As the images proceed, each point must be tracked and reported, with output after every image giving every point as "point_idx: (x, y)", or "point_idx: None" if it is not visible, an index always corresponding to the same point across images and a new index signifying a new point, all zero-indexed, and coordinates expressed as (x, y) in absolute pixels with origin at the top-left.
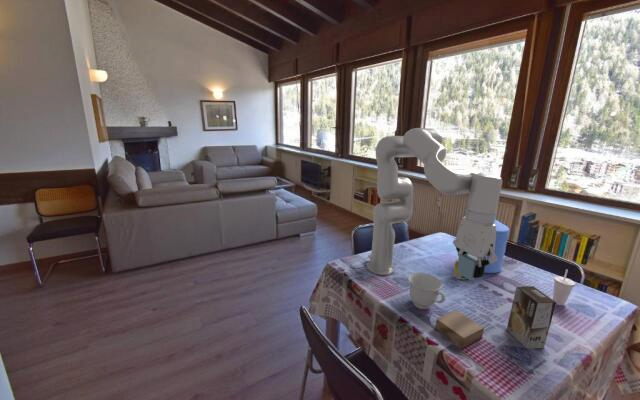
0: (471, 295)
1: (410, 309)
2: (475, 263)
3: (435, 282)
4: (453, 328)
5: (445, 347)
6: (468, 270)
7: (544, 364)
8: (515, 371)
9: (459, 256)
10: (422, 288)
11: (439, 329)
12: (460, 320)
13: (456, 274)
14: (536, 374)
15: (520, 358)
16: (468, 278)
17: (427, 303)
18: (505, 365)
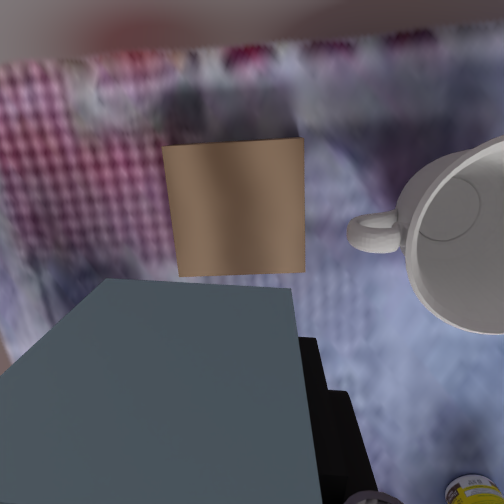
0: (365, 426)
1: (442, 130)
2: None
3: (474, 308)
4: (223, 156)
5: (200, 84)
6: (111, 333)
7: (44, 323)
8: (43, 220)
9: (364, 496)
10: (471, 155)
11: (278, 138)
12: (248, 230)
13: (482, 487)
14: (21, 266)
15: (80, 285)
16: (131, 282)
17: (405, 189)
18: (70, 215)
